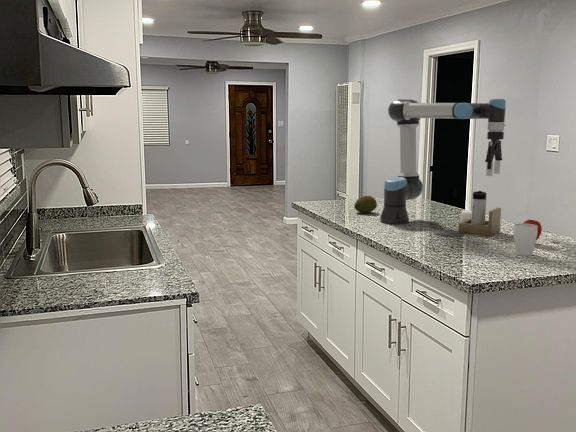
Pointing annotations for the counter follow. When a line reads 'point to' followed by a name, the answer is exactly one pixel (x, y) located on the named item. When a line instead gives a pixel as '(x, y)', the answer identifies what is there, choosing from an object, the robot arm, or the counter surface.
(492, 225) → the brown wooden open box
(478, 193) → the travel mug
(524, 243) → the cup
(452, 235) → the mat
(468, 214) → the mug
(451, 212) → the counter surface
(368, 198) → the fruit
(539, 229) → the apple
